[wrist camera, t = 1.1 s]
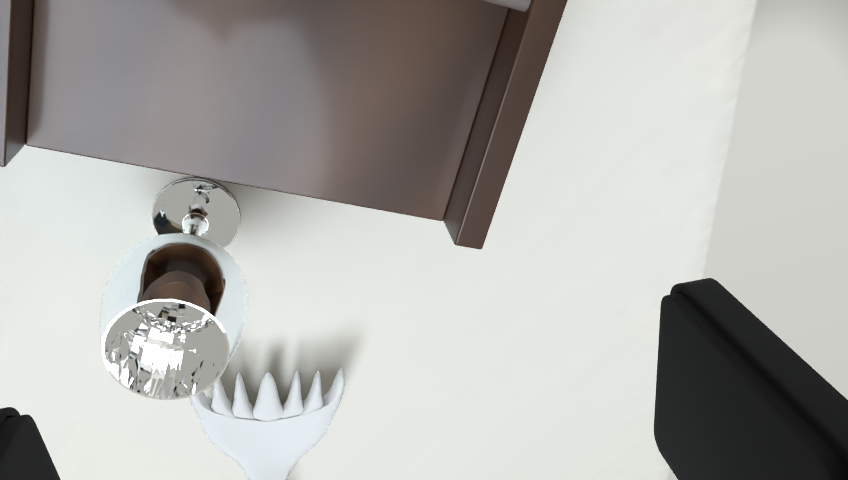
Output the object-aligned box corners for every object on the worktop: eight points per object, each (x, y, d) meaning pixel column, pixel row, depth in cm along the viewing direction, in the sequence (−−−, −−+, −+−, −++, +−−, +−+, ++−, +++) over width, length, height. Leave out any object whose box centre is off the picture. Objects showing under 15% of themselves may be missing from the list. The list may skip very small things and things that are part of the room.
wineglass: (200, 285, 40) (174, 434, 29) (114, 217, 37) (50, 355, 27) (276, 217, 39) (276, 347, 28) (191, 143, 36) (158, 256, 26)
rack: (54, 75, 34) (-35, 161, 24) (71, -162, 30) (-29, -175, 20) (429, 153, 39) (482, 250, 29) (486, -40, 35) (569, -3, 25)
